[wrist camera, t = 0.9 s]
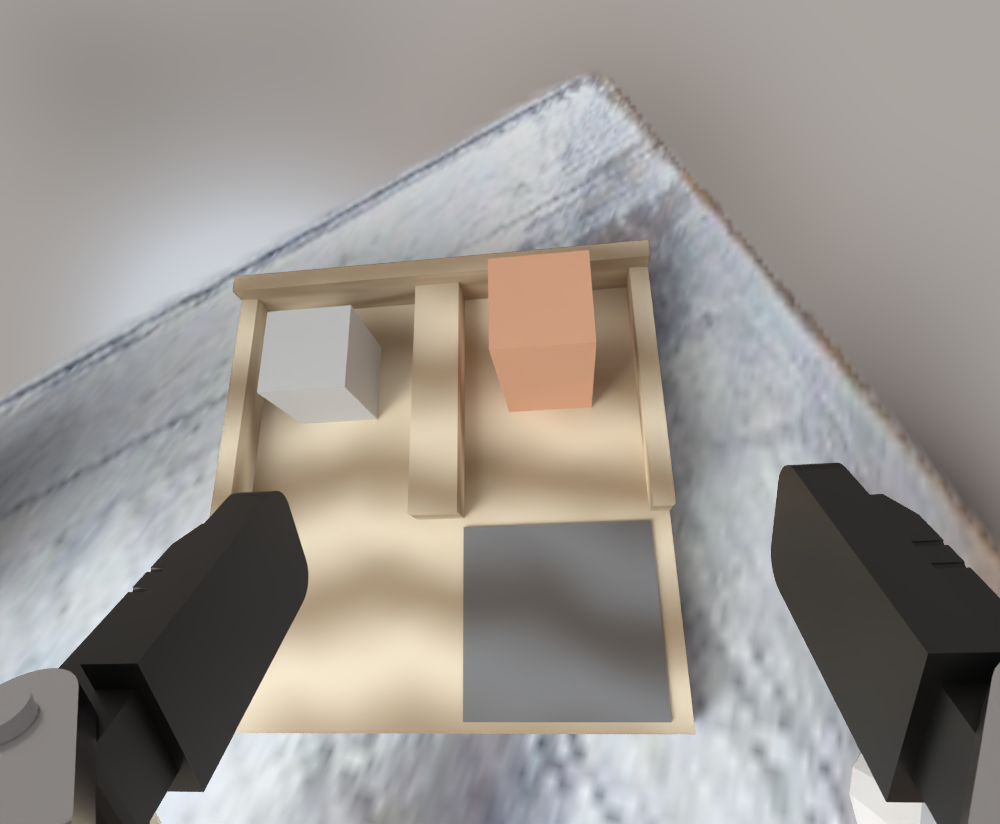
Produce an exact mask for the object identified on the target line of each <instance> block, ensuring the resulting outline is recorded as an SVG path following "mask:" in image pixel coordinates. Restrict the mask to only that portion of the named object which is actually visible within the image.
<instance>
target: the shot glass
mask: <svg viewBox="0 0 1000 824" xmlns="http://www.w3.org/2000/svg"><path fill="white" fill-rule="evenodd" d="M850 797H851V801H852V805H853V809H854V813H855V817H856V821H857V823H858V824H937V823H936V822H935V820H934V818H933V816H932V814H931V813H930V811H929V809H928V807H927V806H926V804H925V803H900V802H886V801H885V799H884V797H883V795H882V793H881V791H880V789H879V787H878V785H877V783H876V781H875V779H874V777H873V775H872V773H871V771H870V769H869V767H868V765H867V763H866V761H865V759H864V757H863V755H862V753H861V754H860V756H859V757H858V759H857V761H856V762H855V764H854V765H853V768H852V776H851V785H850Z"/></svg>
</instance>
